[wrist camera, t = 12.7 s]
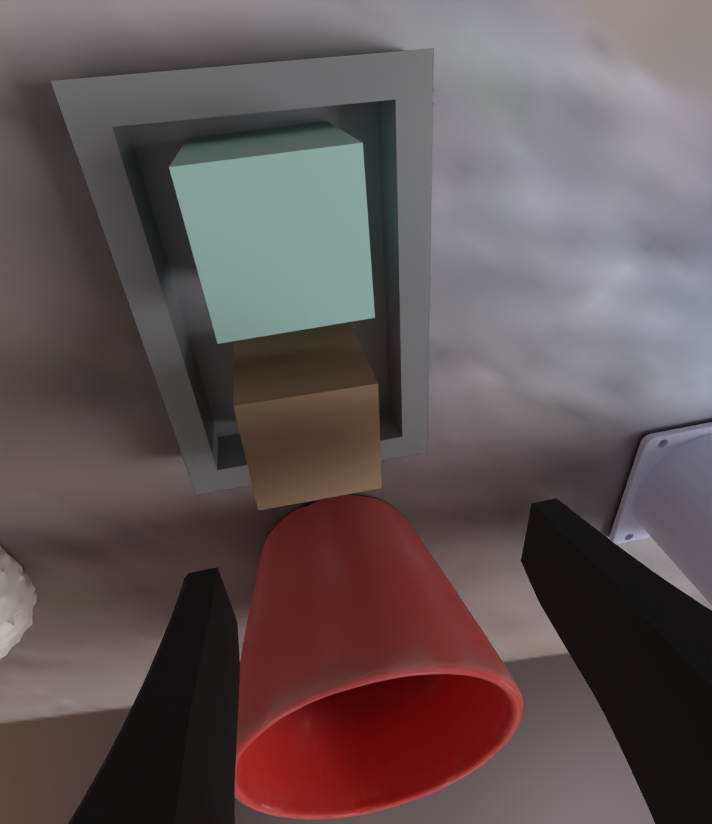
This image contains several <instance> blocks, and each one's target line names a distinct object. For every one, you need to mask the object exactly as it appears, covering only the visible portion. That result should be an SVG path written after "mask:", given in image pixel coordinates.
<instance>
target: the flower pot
mask: <svg viewBox="0 0 712 824" xmlns="http://www.w3.org/2000/svg"><path fill="white" fill-rule="evenodd" d="M522 712H523V700H522V695H521V693H520V690H519V688H518V686H517V685H516V683H515V681H514V679H513V678H512V676H511V675H510V673H509V671H508V670H507V668H506V666H505V665H504V663H503V662H502V660H501V658H500V657H499V655H498V654H497V652H496V651H495V649H494V648H493V646H492V644H491V643H490V641H489V640H488V638H487V637H486V635H485V634H484V632H483V631H482V629H481V628H480V626H479V625H478V623H477V622H476V620H475V619H474V617H473V616H472V615H471V613H470V612H469V610H468V609H467V607H466V606H465V604H464V602H463V601H462V599H461V598H460V596H459V595H458V593H457V592H456V590H455V589H454V587H453V586H452V584H451V583H450V581H449V580H448V578H447V577H446V575H445V574H444V573H443V571H442V570H441V568H440V567H439V565H438V564H437V563H436V561H435V560H434V558H433V557H432V555H431V554H430V553H429V551H428V550H427V548H426V547H425V546H424V544H423V543H422V541H421V540H420V539H419V537H418V536H417V535H416V533H415V532H414V530H413V529H412V528H411V526H410V525H409V523H408V522H407V520H406V519H405V518H404V516H403V515H402V514H401V513H400V512H399V511H398V510H397V509H395V508H394V507H393V506H391V505H389V504H387V503H386V502H384V501H381V500H378V499H375V498H371V497H366V496H358V495H342V496H336V497H331V498H325V499H320V500H318V501H315V502H314V503H312V504H311V505H308V506H305V507H301V508H299V509H297V510H295V511H293V512H292V513H290V514H289V515H287V516H286V517H285V518H283V519H282V520H281V521H280V522H279V523H278V524H277V525H276V526H275V527H274V528H273V530H272V531H271V532H270V534H269V535H268V537H267V539H266V541H265V543H264V546H263V549H262V552H261V557H260V562H259V566H258V571H257V576H256V581H255V586H254V591H253V596H252V601H251V606H250V611H249V616H248V621H247V627H246V632H245V638H244V643H243V649H242V655H241V660H240V683H239V706H238V727H237V748H236V769H235V798H236V799H238V800H239V801H240V802H242V803H243V804H245V805H246V806H248V807H250V808H252V809H255V810H257V811H259V812H264V813H267V814H271V815H274V816H280V817H286V818H298V819H331V818H343V817H351V816H356V815H361V814H366V813H372V812H376V811H379V810H383V809H387V808H391V807H394V806H397V805H401V804H404V803H406V802H409V801H412V800H416V799H418V798H421V797H423V796H426V795H428V794H431V793H434V792H436V791H438V790H440V789H442V788H444V787H446V786H448V785H450V784H452V783H454V782H455V781H457V780H459V779H461V778H462V777H465V776H466V775H468V774H469V773H471V772H472V771H474V770H475V769H477V768H479V767H480V766H481V765H483V764H484V763H485V762H487V761H488V760H489V759H490V758H491V757H492V756H493V755H494V754H496V753H497V752H498V751H499V750H500V749H501V748H502V747H503V746H504V745H505V744H506V743H507V742H508V740H509V739H510V738H511V736H512V735H513V734H514V732H515V731H516V729H517V727H518V725H519V723H520V720H521V717H522Z"/></svg>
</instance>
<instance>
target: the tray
mask: <svg viewBox="0 0 712 824" xmlns="http://www.w3.org/2000/svg"><path fill="white" fill-rule="evenodd" d="M433 69H434V48H430V49H418V50H407V51H395V52H383V53H371V54H360V55H348V56H336V57H324V58H313V59H301V60H289V61H277V62H266V63H254V64H242V65H230V66H219V67H207V68H195V69H184V70H172V71H160V72H148V73H137V74H125V75H113V76H101V77H90V78H78V79H66V80H54V81H51V84H52V86H53V89H54V92H55V95H56V98H57V101H58V103H59V106H60V109H61V112H62V115H63V118H64V121H65V123H66V126H67V129H68V132H69V135H70V138H71V140H72V143H73V146H74V149H75V152H76V155H77V158H78V160H79V163H80V166H81V169H82V172H83V175H84V177H85V180H86V183H87V186H88V189H89V192H90V194H91V197H92V200H93V203H94V206H95V209H96V212H97V214H98V217H99V220H100V223H101V226H102V229H103V231H104V234H105V237H106V240H107V243H108V246H109V249H110V251H111V254H112V257H113V260H114V263H115V266H116V268H117V271H118V274H119V277H120V280H121V283H122V285H123V288H124V291H125V294H126V297H127V300H128V303H129V305H130V308H131V311H132V314H133V317H134V320H135V322H136V325H137V328H138V331H139V334H140V337H141V340H142V342H143V345H144V348H145V351H146V354H147V357H148V359H149V362H150V365H151V368H152V371H153V374H154V376H155V379H156V382H157V385H158V388H159V391H160V394H161V396H162V399H163V402H164V405H165V408H166V411H167V413H168V416H169V419H170V422H171V425H172V428H173V431H174V433H175V436H176V439H177V442H178V445H179V448H180V450H181V453H182V456H183V459H184V462H185V465H186V467H187V470H188V473H189V476H190V479H191V482H192V485H193V487H194V490H195V493H196V495H200V494H205V493H211V492H216V491H221V490H227V489H232V488H238V487H243V486H248V485H252V483H251V478H250V474H249V470H248V466H247V462H246V457H245V453H244V449H243V445H242V441H241V436H240V432H239V428H238V424H237V420H236V416H235V411H234V407H233V341H232V342H226V343H220V344H218V343H217V340H216V336H215V332H214V329H213V325H212V322H211V318H210V314H209V311H208V307H207V304H206V300H205V296H204V293H203V289H202V285H201V282H200V278H199V275H198V271H197V267H196V264H195V260H194V256H193V253H192V249H191V246H190V242H189V238H188V235H187V231H186V227H185V224H184V220H183V217H182V213H181V209H180V206H179V202H178V198H177V195H176V191H175V188H174V184H173V180H172V177H171V173H170V169H169V166H170V165H171V163H172V162H173V160H174V158H175V157H176V155H177V154H178V152H179V151H180V149H181V148H182V146H183V144H184V143H185V141H186V140H187V138H193V137H201V136H209V135H218V134H226V133H234V132H242V131H251V130H259V129H267V128H276V127H284V126H292V125H300V124H309V123H317V122H325V121H328V122H329V123H331V124H333V125H334V126H336V127H338V128H339V129H341V130H343V131H344V132H346V133H348V134H349V135H351V136H353V137H354V138H356V139H358V140H359V141H361V142H363V153H364V167H365V182H366V196H367V210H368V224H369V239H370V253H371V267H372V282H373V296H374V310H375V318H370V319H364V320H358V321H352V322H351V325H352V327H353V329H354V331H355V333H356V336H357V338H358V340H359V342H360V345H361V347H362V349H363V351H364V353H365V356H366V358H367V360H368V362H369V364H370V367H371V369H372V371H373V373H374V376H375V378H376V380H377V382H378V393H379V421H380V449H381V461H383V460H389V459H394V458H399V457H405V456H410V455H415V454H421V453H426V452H427V439H428V378H429V316H430V254H431V193H432V131H433Z"/></svg>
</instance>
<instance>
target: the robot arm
mask: <svg viewBox="0 0 712 824" xmlns="http://www.w3.org/2000/svg"><path fill="white" fill-rule="evenodd" d="M648 537H652V538H653V539H654V541H655V542H656V543H657V544H658V545H659V546H660V547H661V549H662V550H663V551H664V552H665V553H666V554H667V555H668V556H669V558H670V559H671V560H672V561H673V562H674V563H675V564H676V565H677V567H678V568H679V569H680V570H681V571H682V572H683V573H684V575H685V576H686V577H687V578H688V579H689V580H690V581H691V582H692V584H693V585H694V586H695V587H696V588H697V589H698V590H699V592H700V593H701V594H702V595H703V596H704V597H705V598H706V599H707V601H708V602H709V603H710V604H711V605H712V422H710V423H704V424H699V425H694V426H689V427H684V428H678V429H673V430H668V431H663V432H657V433H652V434H649V435H647V436H645V437H644V438H643V439H642V440H641V442H640V445H639V448H638V451H637V454H636V457H635V460H634V464H633V467H632V470H631V473H630V476H629V479H628V482H627V485H626V488H625V491H624V494H623V497H622V500H621V503H620V506H619V509H618V512H617V515H616V518H615V521H614V524H613V527H612V530H611V533H610V539H611V540H609V539H608V538H607V537H606V536H604V535H603V534H602V533H600V532H599V531H598V530H596V529H595V528H594V527H593V526H591V525H590V524H589V523H587V522H586V521H585V520H583V519H582V518H581V517H580V516H578V515H577V514H576V513H574V512H573V511H572V510H571V509H569V508H568V507H567V506H565V505H564V504H563V503H561V502H560V501H559V500H558V499H551V500H546V501H542V502H537V503H532V505H531V510H530V515H529V521H528V526H527V531H526V537H525V542H524V547H523V553H522V558H521V562H522V564H523V566H524V569H525V571H526V573H527V576H528V578H529V580H530V583H531V585H532V587H533V589H534V591H535V594H536V596H537V598H538V600H539V602H540V604H541V606H542V608H543V609H544V611H545V613H546V614H547V616H548V618H549V620H550V621H551V623H552V625H553V626H554V628H555V630H556V632H557V633H558V635H559V637H560V638H561V640H562V642H563V643H564V645H565V647H566V648H567V650H568V652H569V653H570V655H571V657H572V658H573V660H574V662H575V663H576V665H577V667H578V669H579V670H580V672H581V674H582V675H583V677H584V679H585V680H586V682H587V684H588V685H589V687H590V689H591V690H592V692H593V694H594V695H595V697H596V699H597V701H598V703H599V705H600V707H601V708H602V710H603V712H604V714H605V716H606V718H607V720H608V722H609V724H610V726H611V728H612V730H613V732H614V734H615V737H616V739H617V741H618V742H619V745H620V747H621V749H622V751H623V753H624V755H625V757H626V759H627V762H628V764H629V766H630V768H631V770H632V773H633V775H634V777H635V779H636V781H637V784H638V786H639V788H640V790H641V792H642V795H643V797H644V799H645V801H646V803H647V805H648V807H649V810H650V812H651V815H652V817H653V819H654V822H655V824H712V611H711V610H710V609H708V608H706V607H705V606H703V605H702V604H700V603H699V602H697V601H696V600H694V599H693V598H691V597H690V596H688V595H687V594H685V593H684V592H682V591H681V590H679V589H678V588H676V587H675V586H673V585H672V584H670V583H669V582H667V581H666V580H664V579H663V578H661V577H660V576H658V575H657V574H656V573H654V572H653V571H651V570H650V569H649V568H647V567H646V566H645V565H643V564H642V563H640V562H639V561H638V560H636V559H635V558H634V557H632V556H631V555H629V554H628V553H627V552H625V551H624V550H623V549H621V548H620V547H619V546H617V545H616V544H621V543H625V542H630V541H634V540H639V539H644V538H648ZM239 683H240V661H239V643H238V627H237V620H236V618H235V615H234V612H233V609H232V606H231V604H230V601H229V598H228V595H227V592H226V590H225V587H224V584H223V581H222V579H221V576H220V573H219V570H218V567H217V568H212V569H207V570H203V571H198V572H193V573H189V574H188V575H187V576H186V577H185V579H184V582H183V585H182V588H181V591H180V594H179V597H178V600H177V602H176V605H175V608H174V611H173V613H172V616H171V619H170V621H169V624H168V626H167V629H166V631H165V634H164V636H163V639H162V641H161V644H160V646H159V648H158V651H157V653H156V655H155V658H154V660H153V662H152V665H151V667H150V669H149V672H148V674H147V676H146V678H145V681H144V683H143V685H142V687H141V689H140V691H139V693H138V696H137V698H136V700H135V702H134V704H133V706H132V708H131V710H130V712H129V714H128V716H127V718H126V720H125V722H124V724H123V726H122V728H121V731H120V732H119V734H118V736H117V738H116V740H115V742H114V744H113V746H112V748H111V750H110V752H109V753H108V755H107V757H106V759H105V761H104V763H103V764H102V766H101V768H100V770H99V772H98V774H97V775H96V777H95V779H94V781H93V783H92V784H91V786H90V788H89V789H88V791H87V793H86V795H85V797H84V798H83V800H82V802H81V803H80V805H79V807H78V808H77V810H76V812H75V813H74V815H73V817H72V818H71V820H70V822H69V823H68V824H235V816H234V802H235V769H236V748H237V727H238V706H239Z"/></svg>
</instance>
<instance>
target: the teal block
mask: <svg viewBox="0 0 712 824" xmlns="http://www.w3.org/2000/svg"><path fill="white" fill-rule="evenodd" d="M169 169H170V173H171V177H172V180H173V184H174V188H175V191H176V195H177V198H178V202H179V206H180V209H181V213H182V217H183V220H184V224H185V227H186V231H187V235H188V238H189V242H190V246H191V249H192V253H193V256H194V260H195V264H196V267H197V271H198V275H199V278H200V282H201V285H202V289H203V293H204V296H205V300H206V304H207V307H208V311H209V314H210V318H211V322H212V325H213V329H214V332H215V336H216V340H217V343H218V344H220V343H226V342H232V341H238V340H244V339H250V338H256V337H262V336H268V335H274V334H280V333H286V332H292V331H298V330H304V329H310V328H316V327H322V326H328V325H334V324H340V323H346V322H352V321H358V320H364V319H370V318H375V310H374V296H373V282H372V267H371V253H370V239H369V224H368V210H367V196H366V182H365V167H364V153H363V142H361V141H359V140H358V139H356V138H354V137H353V136H351V135H349V134H348V133H346V132H344V131H343V130H341V129H339V128H338V127H336V126H334V125H333V124H331V123H329V122H328V121H325V122H317V123H309V124H300V125H292V126H284V127H276V128H267V129H259V130H251V131H242V132H234V133H226V134H218V135H209V136H201V137H193V138H187V140H186V141H185V143H184V144H183V146H182V148H181V149H180V151H179V152H178V154H177V155H176V157H175V158H174V160H173V162H172V163H171V165H170V166H169Z"/></svg>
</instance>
